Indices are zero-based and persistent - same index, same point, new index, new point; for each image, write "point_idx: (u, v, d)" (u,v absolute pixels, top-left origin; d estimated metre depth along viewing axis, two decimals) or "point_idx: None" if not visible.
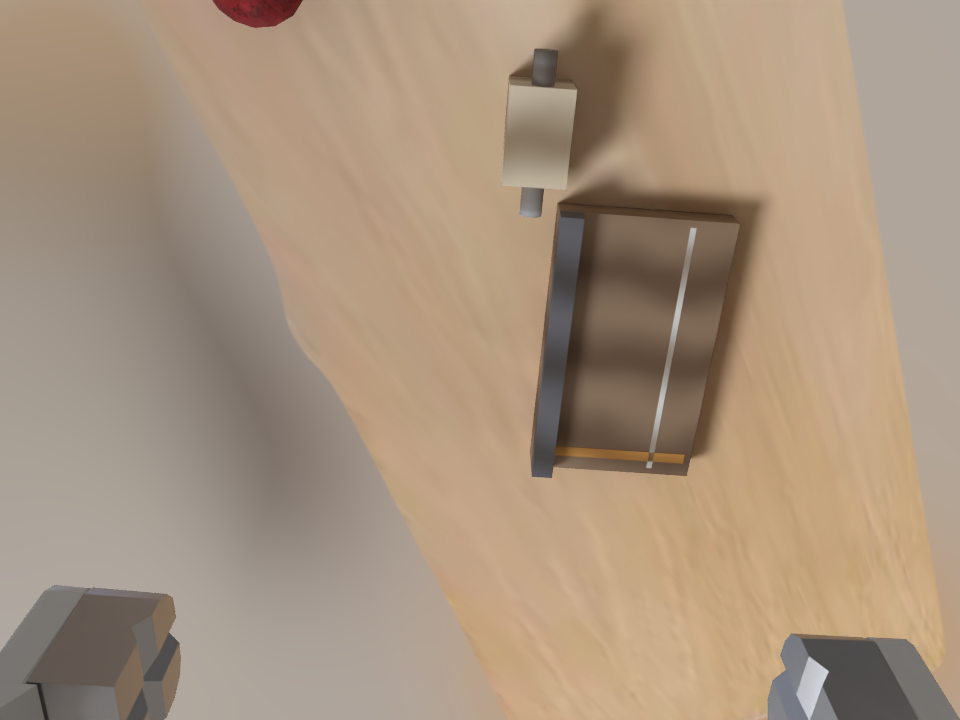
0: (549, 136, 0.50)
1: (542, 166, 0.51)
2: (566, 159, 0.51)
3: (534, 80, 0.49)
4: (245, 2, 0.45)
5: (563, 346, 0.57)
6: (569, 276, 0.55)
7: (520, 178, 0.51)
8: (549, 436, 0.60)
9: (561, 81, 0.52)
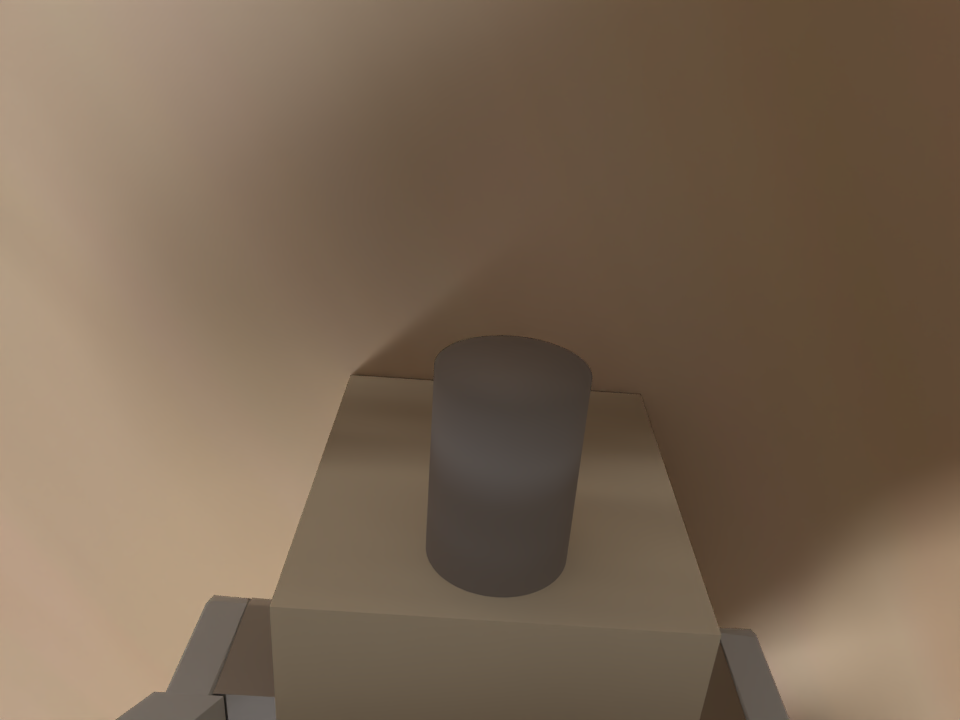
0: None
1: None
2: None
3: (436, 548, 0.08)
4: None
5: None
6: None
7: None
8: None
9: (598, 429, 0.10)
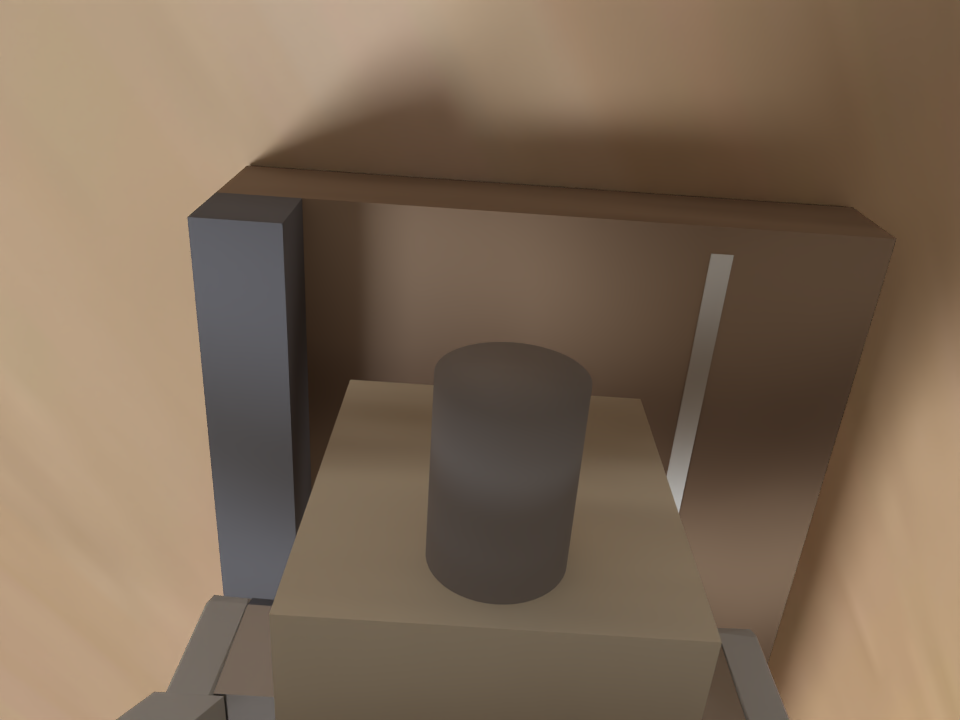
0: None
1: None
2: None
3: (436, 554, 0.08)
4: None
5: None
6: (262, 433, 0.15)
7: None
8: None
9: (598, 434, 0.10)
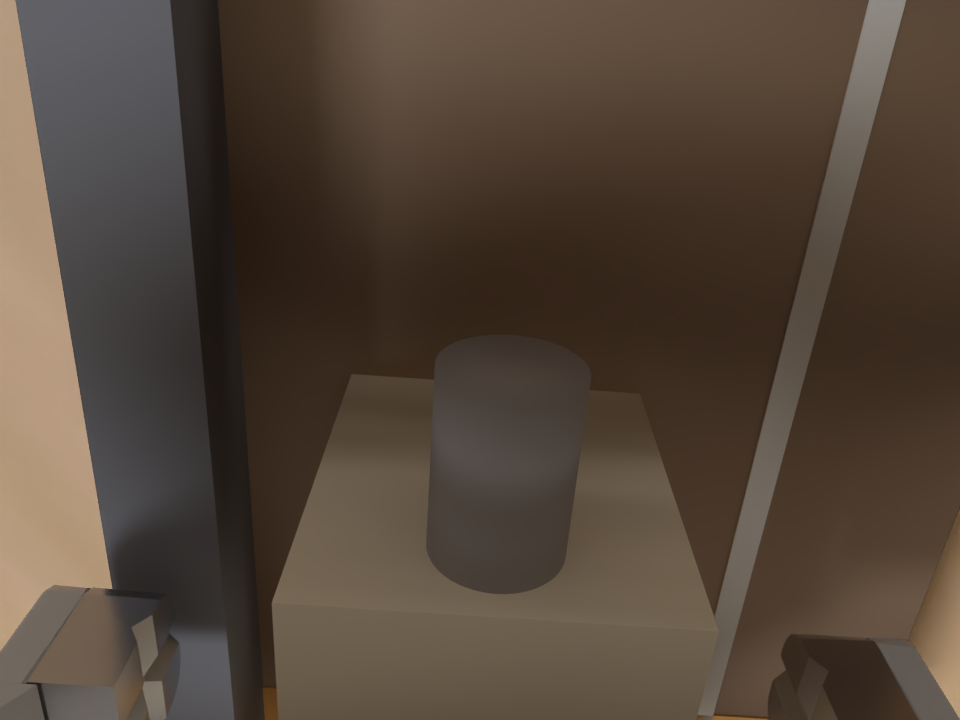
0: None
1: None
2: None
3: (436, 545, 0.08)
4: None
5: (156, 184, 0.09)
6: None
7: None
8: (192, 683, 0.12)
9: (598, 428, 0.10)
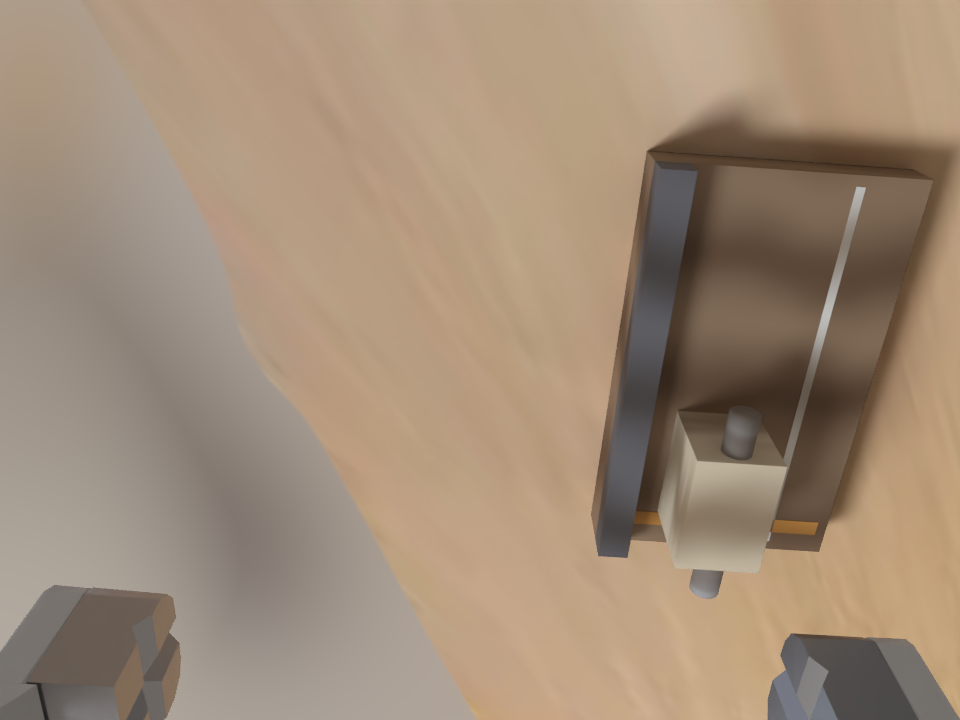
0: (743, 516, 0.38)
1: (730, 548, 0.38)
2: (763, 541, 0.38)
3: (726, 450, 0.37)
4: None
5: (654, 369, 0.38)
6: (669, 262, 0.35)
7: (700, 560, 0.39)
8: (626, 500, 0.41)
9: None
